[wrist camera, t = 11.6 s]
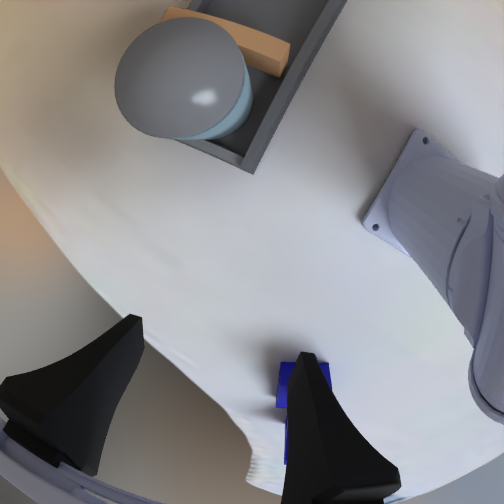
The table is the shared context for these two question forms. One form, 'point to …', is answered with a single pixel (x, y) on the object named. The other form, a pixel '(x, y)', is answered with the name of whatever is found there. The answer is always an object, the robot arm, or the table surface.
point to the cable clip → (283, 387)
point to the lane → (265, 85)
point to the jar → (184, 81)
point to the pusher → (246, 42)
